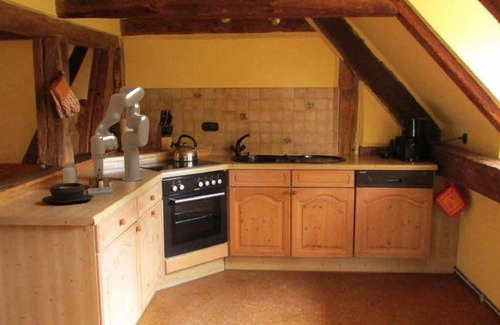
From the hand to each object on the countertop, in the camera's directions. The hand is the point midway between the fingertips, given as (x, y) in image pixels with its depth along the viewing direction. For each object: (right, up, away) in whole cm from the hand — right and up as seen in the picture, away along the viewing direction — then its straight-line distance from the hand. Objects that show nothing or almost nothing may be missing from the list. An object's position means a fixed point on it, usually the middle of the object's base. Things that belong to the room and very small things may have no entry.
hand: (99, 186), depth 258 cm
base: (+5, -3, -13) cm, 15 cm away
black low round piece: (-4, -6, -35) cm, 36 cm away
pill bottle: (-17, -1, -2) cm, 17 cm away
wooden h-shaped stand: (0, -1, 0) cm, 1 cm away
